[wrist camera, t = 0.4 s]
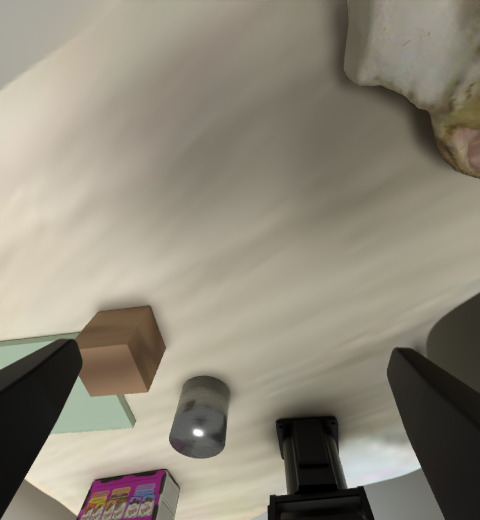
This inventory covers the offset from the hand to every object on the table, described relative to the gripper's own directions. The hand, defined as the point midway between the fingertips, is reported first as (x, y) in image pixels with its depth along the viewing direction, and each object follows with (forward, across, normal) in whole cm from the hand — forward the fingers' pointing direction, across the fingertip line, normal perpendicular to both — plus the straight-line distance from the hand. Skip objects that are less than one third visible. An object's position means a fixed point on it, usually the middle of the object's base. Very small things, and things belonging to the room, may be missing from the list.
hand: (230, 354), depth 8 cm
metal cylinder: (+14, +4, +19) cm, 24 cm away
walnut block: (+14, +10, +11) cm, 21 cm away
